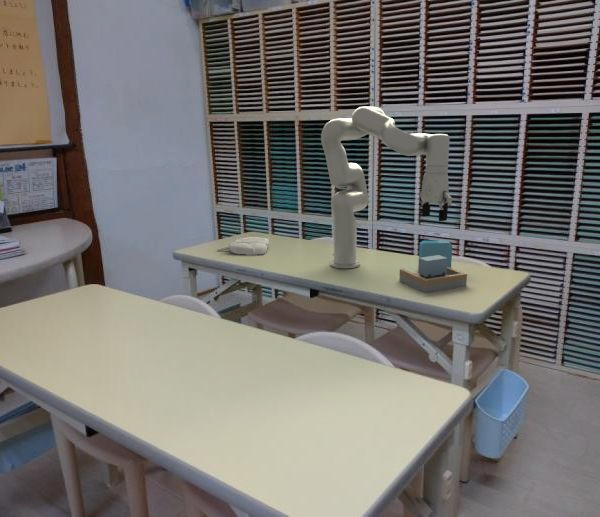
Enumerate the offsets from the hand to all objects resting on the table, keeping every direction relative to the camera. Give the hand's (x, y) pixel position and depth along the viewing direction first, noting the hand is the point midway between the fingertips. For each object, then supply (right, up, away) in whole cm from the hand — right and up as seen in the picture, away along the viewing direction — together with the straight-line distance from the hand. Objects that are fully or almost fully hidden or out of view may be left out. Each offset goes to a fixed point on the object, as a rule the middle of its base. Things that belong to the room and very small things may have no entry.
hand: (434, 218), depth 179 cm
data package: (+6, -20, +22) cm, 30 cm away
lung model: (-76, -11, +61) cm, 98 cm away
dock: (+1, -24, +6) cm, 24 cm away
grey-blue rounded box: (+1, -21, +5) cm, 22 cm away
